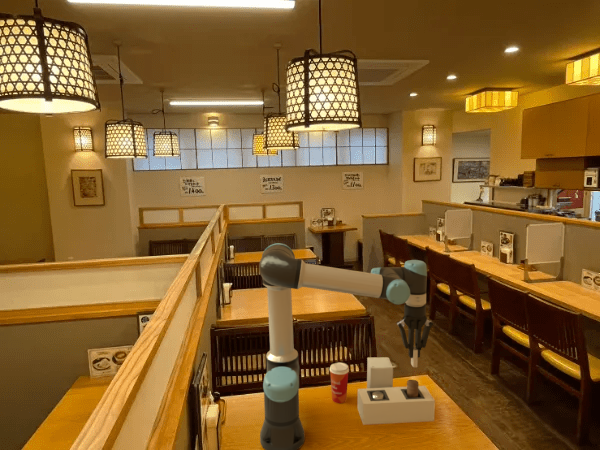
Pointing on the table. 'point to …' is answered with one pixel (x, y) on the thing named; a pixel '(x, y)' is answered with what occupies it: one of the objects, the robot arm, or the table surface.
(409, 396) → the walnut peg
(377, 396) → the metal peg
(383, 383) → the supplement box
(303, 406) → the table surface
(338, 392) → the paper cup
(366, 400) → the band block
